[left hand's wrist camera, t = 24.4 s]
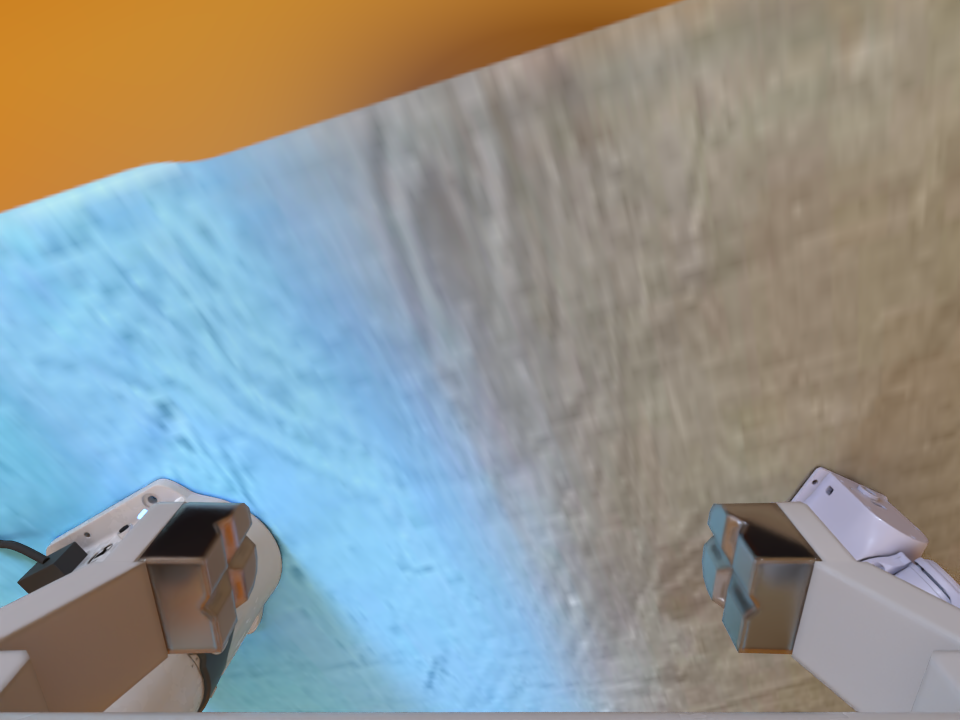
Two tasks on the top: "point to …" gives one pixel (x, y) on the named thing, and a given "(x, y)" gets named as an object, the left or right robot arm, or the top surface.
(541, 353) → the top surface
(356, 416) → the top surface
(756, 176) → the top surface
